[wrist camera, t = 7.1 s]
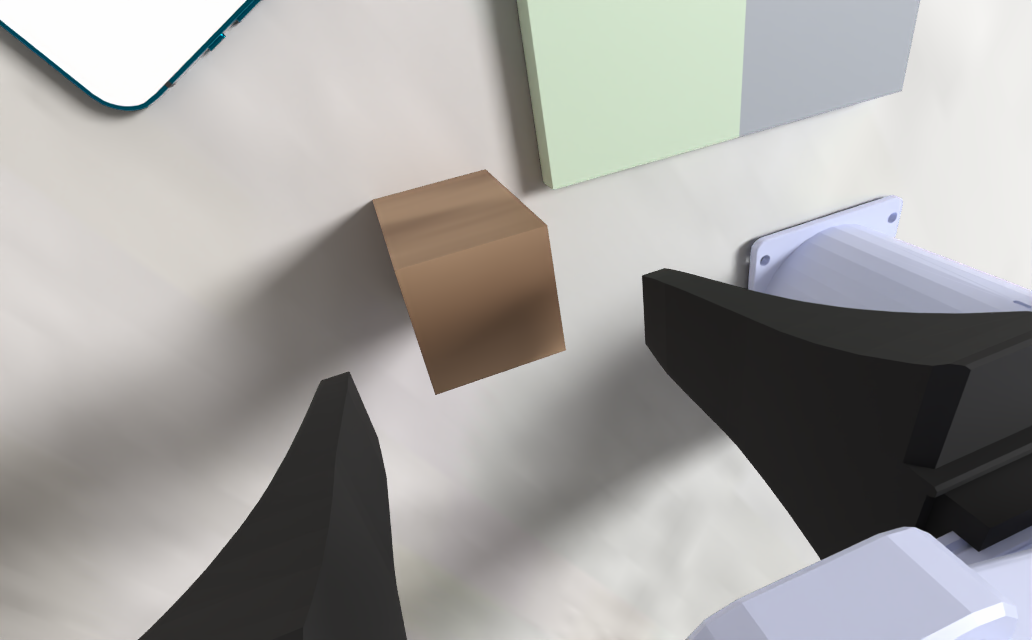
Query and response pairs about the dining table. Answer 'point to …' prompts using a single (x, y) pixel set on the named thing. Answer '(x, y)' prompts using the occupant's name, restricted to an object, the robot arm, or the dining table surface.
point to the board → (696, 72)
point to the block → (472, 277)
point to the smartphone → (122, 41)
